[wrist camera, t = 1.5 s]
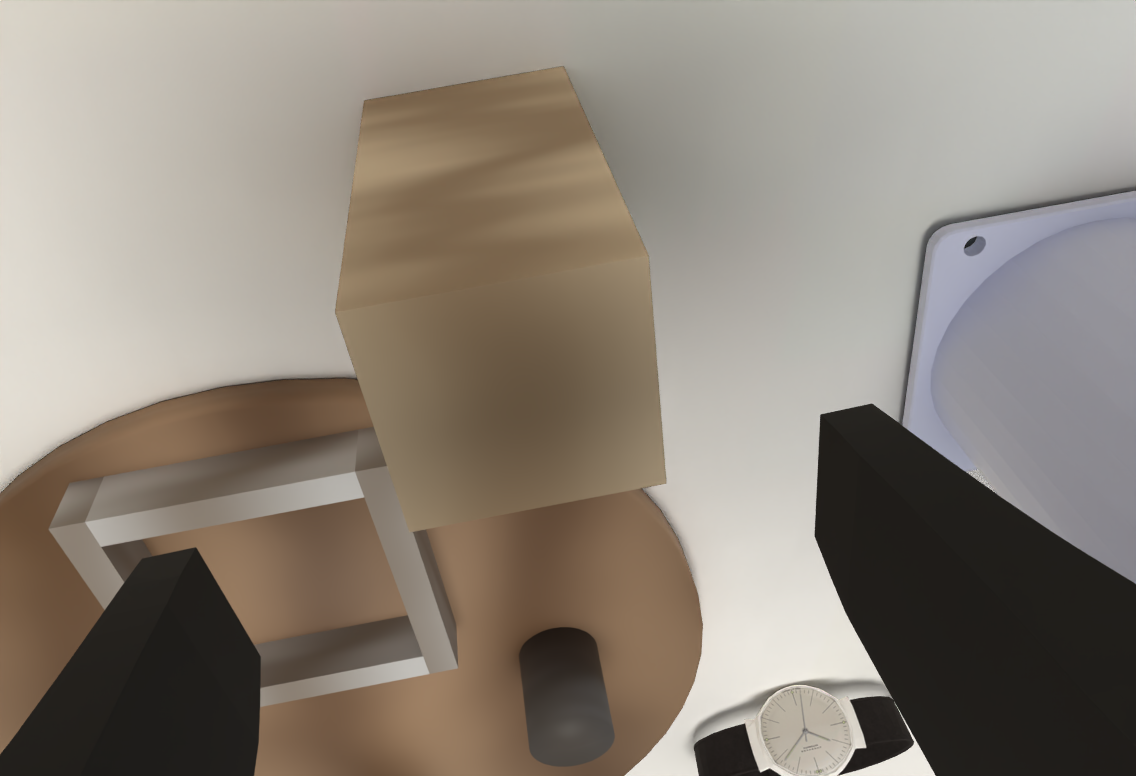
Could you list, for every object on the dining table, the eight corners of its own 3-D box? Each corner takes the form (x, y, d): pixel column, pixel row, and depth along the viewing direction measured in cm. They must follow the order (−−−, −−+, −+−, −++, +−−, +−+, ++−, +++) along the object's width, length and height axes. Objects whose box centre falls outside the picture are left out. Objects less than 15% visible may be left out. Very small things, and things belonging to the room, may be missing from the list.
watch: (890, 654, 32) (938, 746, 29) (885, 725, 34) (928, 816, 32) (681, 701, 32) (707, 799, 29) (692, 769, 34) (718, 864, 32)
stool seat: (677, 304, 21) (723, 405, 18) (704, 780, 34) (734, 886, 31) (-254, 473, 20) (-377, 610, 17) (142, 894, 34) (113, 1015, 30)
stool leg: (563, 65, 18) (648, 255, 11) (585, 244, 20) (666, 483, 14) (364, 100, 17) (334, 312, 11) (411, 275, 20) (409, 532, 13)
